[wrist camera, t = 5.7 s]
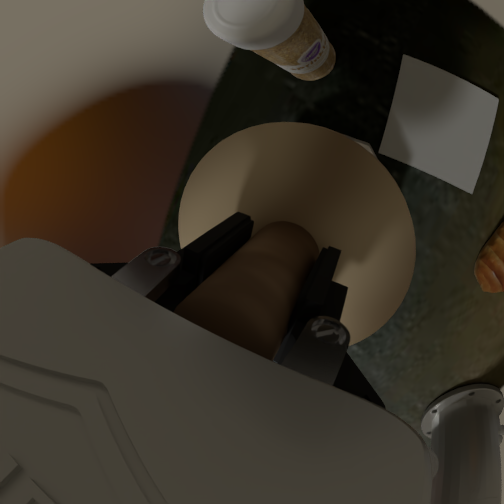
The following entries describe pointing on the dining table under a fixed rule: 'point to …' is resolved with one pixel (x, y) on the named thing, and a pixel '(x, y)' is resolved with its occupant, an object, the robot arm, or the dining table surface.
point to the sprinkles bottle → (274, 33)
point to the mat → (439, 123)
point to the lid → (296, 232)
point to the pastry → (491, 263)
